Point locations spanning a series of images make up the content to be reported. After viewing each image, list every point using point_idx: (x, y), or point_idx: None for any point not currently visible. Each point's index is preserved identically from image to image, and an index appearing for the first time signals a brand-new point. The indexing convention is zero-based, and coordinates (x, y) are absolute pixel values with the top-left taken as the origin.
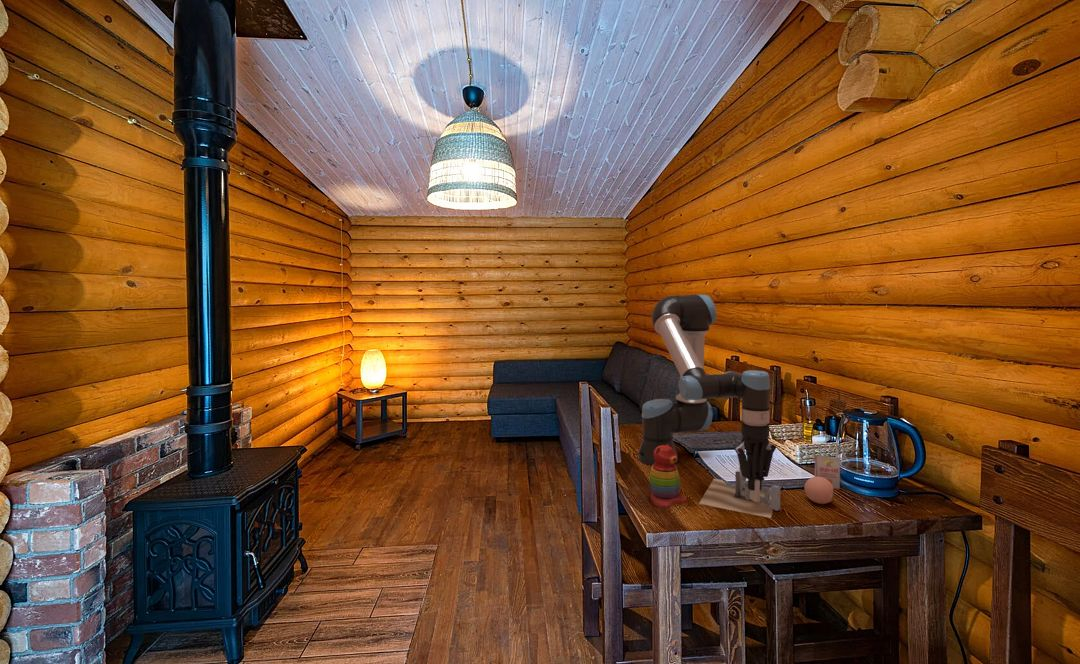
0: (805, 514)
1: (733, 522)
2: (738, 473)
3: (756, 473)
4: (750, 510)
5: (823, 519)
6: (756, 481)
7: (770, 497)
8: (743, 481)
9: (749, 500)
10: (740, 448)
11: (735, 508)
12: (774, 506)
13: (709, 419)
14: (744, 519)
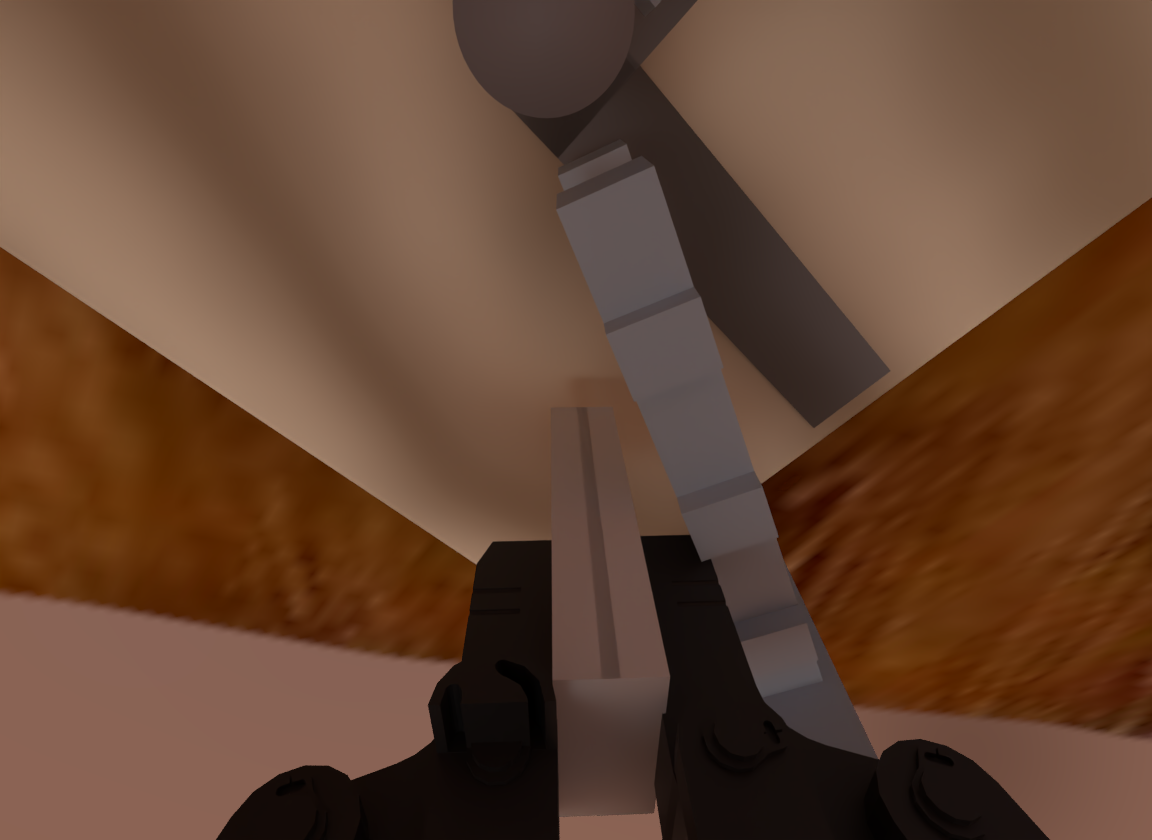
0: (927, 602)
1: (208, 572)
2: (536, 115)
3: (743, 832)
4: (473, 476)
5: (963, 680)
6: (570, 798)
7: (976, 256)
8: (612, 239)
9: None
10: None
11: (324, 401)
12: None
13: None
14: (338, 554)
